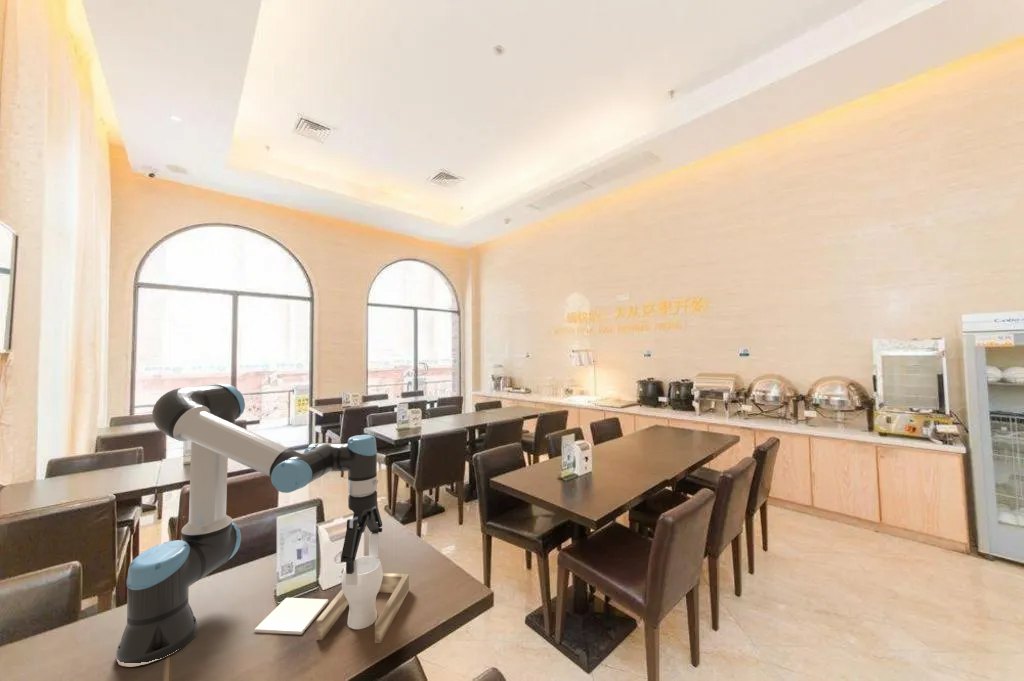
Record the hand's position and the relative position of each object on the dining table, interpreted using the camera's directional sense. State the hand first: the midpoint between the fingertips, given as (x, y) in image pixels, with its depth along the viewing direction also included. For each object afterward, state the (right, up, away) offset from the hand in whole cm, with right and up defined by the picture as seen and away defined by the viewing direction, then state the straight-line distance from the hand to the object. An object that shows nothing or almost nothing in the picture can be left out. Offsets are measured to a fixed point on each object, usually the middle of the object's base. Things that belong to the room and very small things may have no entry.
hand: (363, 569), depth 108 cm
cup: (0, -14, 0) cm, 14 cm away
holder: (0, -14, +3) cm, 14 cm away
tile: (-20, -14, +1) cm, 25 cm away
